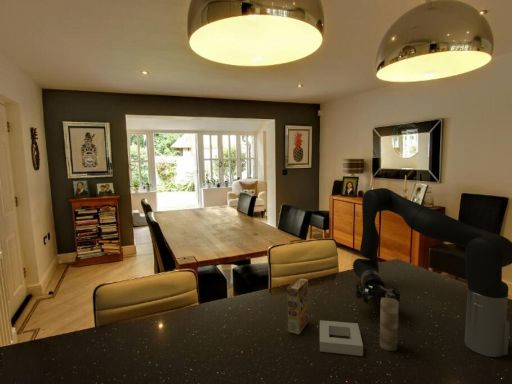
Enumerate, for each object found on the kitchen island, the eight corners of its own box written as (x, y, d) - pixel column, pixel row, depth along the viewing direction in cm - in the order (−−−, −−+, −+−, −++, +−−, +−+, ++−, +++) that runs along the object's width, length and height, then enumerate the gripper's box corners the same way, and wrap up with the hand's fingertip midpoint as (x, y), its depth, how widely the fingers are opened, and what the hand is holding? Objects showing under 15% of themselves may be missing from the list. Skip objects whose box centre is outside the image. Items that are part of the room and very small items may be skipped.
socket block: (357, 332, 98) (357, 323, 98) (362, 355, 86) (363, 346, 86) (319, 328, 100) (319, 320, 100) (319, 351, 89) (319, 341, 88)
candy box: (299, 335, 97) (299, 289, 95) (287, 332, 99) (286, 286, 97) (308, 322, 105) (308, 279, 103) (297, 319, 107) (297, 277, 105)
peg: (394, 342, 92) (396, 298, 91) (398, 352, 88) (400, 305, 86) (378, 340, 93) (379, 297, 92) (381, 350, 89) (382, 304, 87)
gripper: (353, 272, 117) (358, 290, 102) (392, 274, 115) (404, 293, 99) (352, 290, 118) (358, 311, 103) (391, 293, 115) (403, 315, 100)
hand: (380, 302), depth 101 cm, fingers open, 8 cm apart
